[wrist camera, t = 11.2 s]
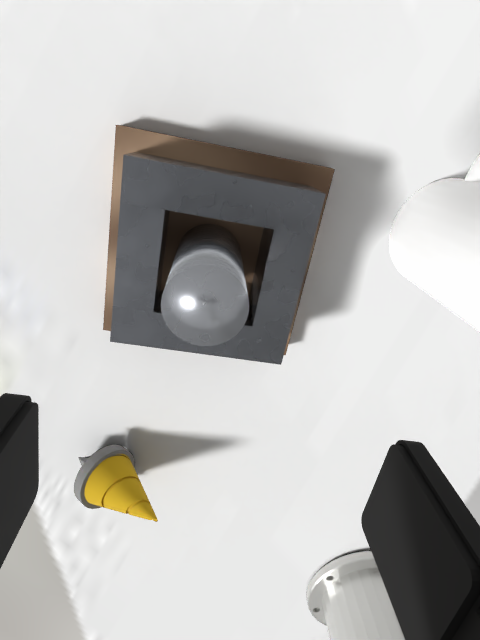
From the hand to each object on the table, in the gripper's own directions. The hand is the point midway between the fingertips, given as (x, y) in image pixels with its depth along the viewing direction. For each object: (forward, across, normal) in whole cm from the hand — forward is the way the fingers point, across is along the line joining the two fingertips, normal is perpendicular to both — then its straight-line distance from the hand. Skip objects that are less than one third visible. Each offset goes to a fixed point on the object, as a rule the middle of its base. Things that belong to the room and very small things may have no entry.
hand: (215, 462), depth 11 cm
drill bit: (+22, +5, +20) cm, 30 cm away
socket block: (+20, 0, 0) cm, 20 cm away
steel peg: (+20, 0, 0) cm, 20 cm away
